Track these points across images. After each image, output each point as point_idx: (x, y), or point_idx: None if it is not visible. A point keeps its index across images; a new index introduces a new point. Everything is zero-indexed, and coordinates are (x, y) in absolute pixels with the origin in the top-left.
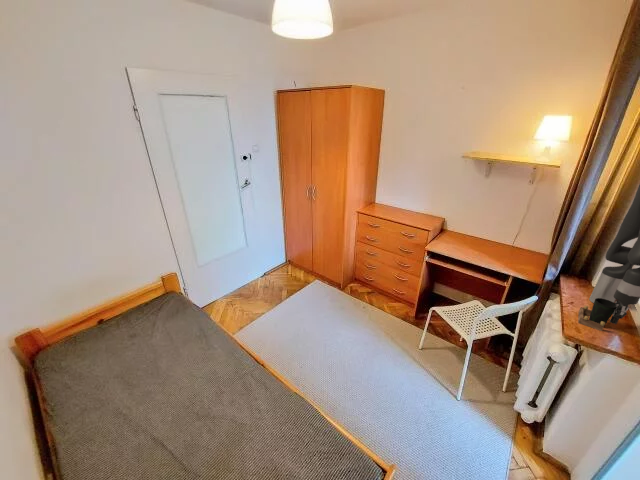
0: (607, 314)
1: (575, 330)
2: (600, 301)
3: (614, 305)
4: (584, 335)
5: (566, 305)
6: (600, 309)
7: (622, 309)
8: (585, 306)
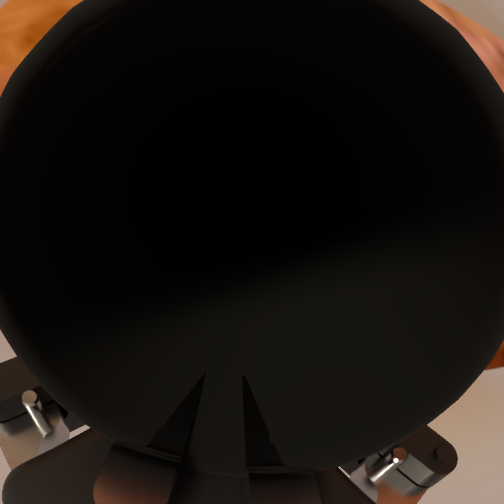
0: (125, 249)
1: (39, 20)
2: (454, 223)
3: (287, 435)
4: (12, 72)
5: (463, 19)
6: (88, 146)
7: (6, 456)
8: None
